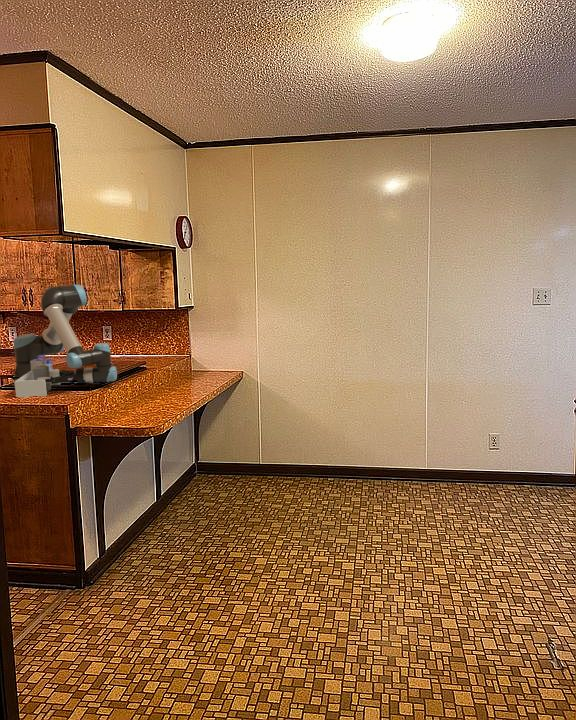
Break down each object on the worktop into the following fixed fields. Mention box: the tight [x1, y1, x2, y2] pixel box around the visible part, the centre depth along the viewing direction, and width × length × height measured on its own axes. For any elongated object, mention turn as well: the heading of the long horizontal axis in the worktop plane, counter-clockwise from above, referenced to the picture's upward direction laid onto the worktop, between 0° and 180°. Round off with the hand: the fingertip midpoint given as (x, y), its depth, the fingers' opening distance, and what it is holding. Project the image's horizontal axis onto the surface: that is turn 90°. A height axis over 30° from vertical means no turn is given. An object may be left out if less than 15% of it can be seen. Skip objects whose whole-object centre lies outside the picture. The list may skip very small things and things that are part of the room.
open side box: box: [14, 368, 61, 398], centre depth 316 cm, size 24×14×8 cm, turn 4°
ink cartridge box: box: [30, 355, 54, 371], centre depth 334 cm, size 10×6×14 cm, turn 78°
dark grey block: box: [33, 366, 52, 393], centre depth 316 cm, size 6×6×12 cm
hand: (42, 377), depth 315 cm, fingers open, 13 cm apart
